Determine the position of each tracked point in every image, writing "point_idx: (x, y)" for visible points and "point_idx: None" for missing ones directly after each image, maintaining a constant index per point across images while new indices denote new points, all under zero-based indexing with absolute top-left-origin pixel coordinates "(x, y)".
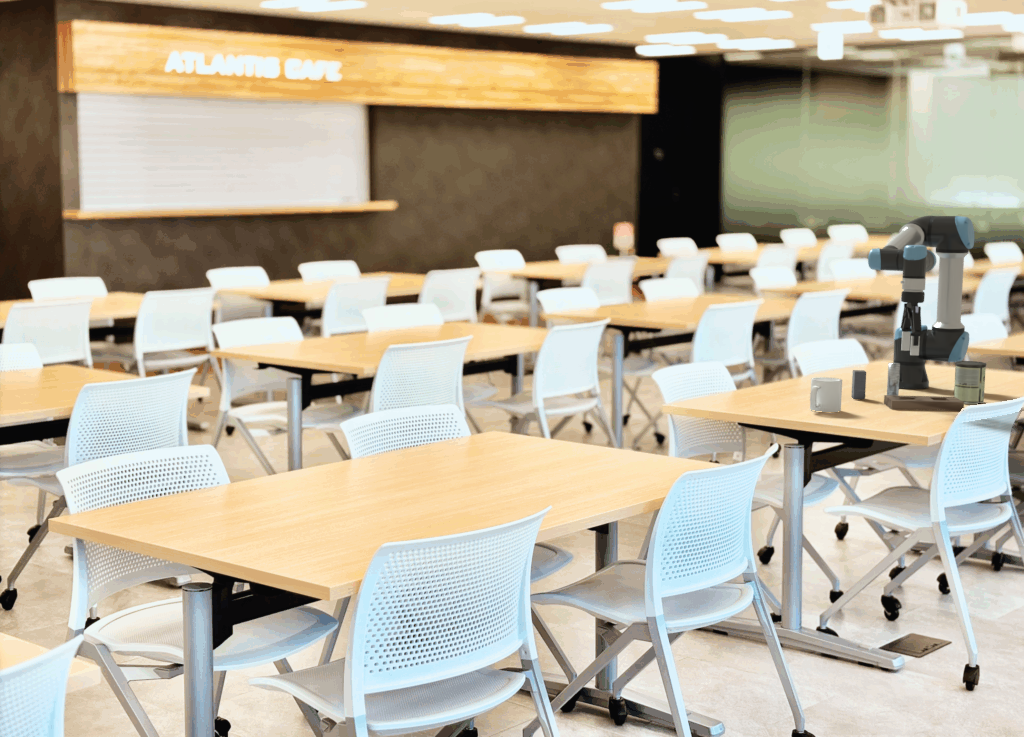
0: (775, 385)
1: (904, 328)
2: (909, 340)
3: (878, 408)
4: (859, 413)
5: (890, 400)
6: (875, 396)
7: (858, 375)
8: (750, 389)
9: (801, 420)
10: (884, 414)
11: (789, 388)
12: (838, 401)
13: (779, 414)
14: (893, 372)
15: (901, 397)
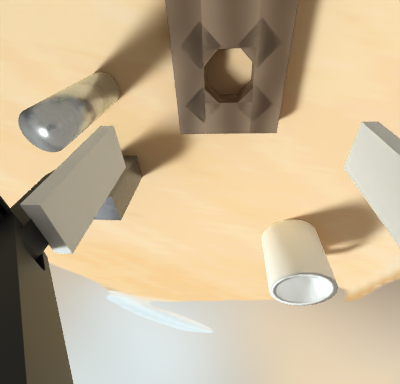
0: None
1: (44, 270)
2: (84, 162)
3: (259, 149)
4: (325, 196)
5: (259, 132)
6: None
7: (121, 206)
8: (101, 280)
9: (378, 274)
10: (347, 152)
11: None
12: (319, 242)
13: None
14: (83, 123)
15: (207, 91)
